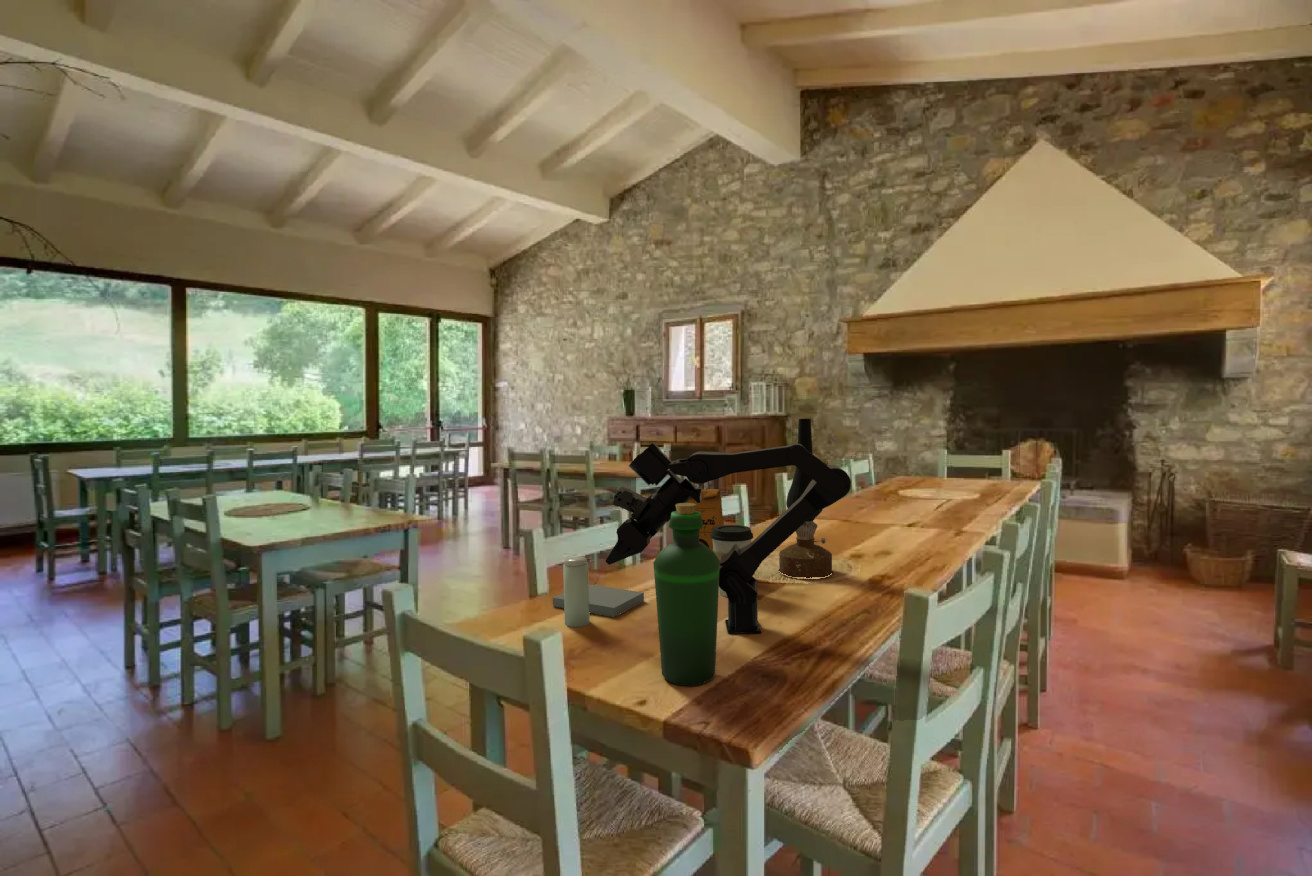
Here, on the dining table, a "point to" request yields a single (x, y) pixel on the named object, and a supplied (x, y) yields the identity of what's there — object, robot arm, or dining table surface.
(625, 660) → the dining table surface
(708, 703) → the dining table surface
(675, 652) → the bottle
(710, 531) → the coffee package
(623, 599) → the slate board
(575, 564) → the shaker
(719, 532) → the coffee cup
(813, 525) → the oil lamp
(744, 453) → the robot arm
